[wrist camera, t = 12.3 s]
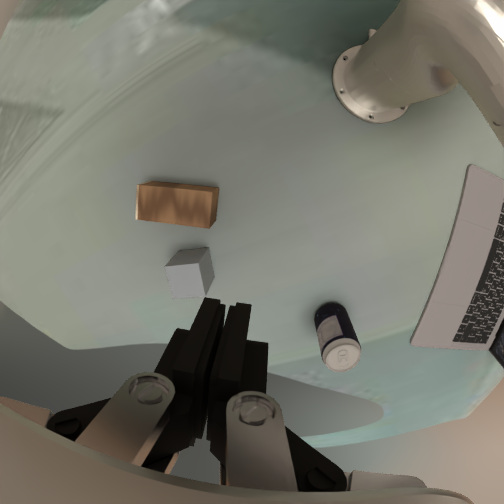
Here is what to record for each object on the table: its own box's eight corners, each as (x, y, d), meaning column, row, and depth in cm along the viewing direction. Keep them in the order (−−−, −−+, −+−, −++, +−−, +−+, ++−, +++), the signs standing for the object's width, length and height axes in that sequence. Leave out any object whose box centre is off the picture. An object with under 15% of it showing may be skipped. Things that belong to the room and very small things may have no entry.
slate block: (178, 250, 47) (164, 266, 41) (208, 247, 47) (198, 263, 40) (185, 279, 49) (172, 298, 42) (214, 276, 48) (205, 296, 42)
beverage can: (316, 332, 50) (324, 377, 39) (311, 304, 49) (320, 347, 37) (347, 325, 50) (363, 369, 38) (344, 297, 48) (362, 338, 37)
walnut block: (137, 184, 39) (212, 192, 39) (150, 181, 44) (219, 187, 44) (135, 219, 41) (209, 228, 41) (148, 212, 46) (215, 220, 45)
